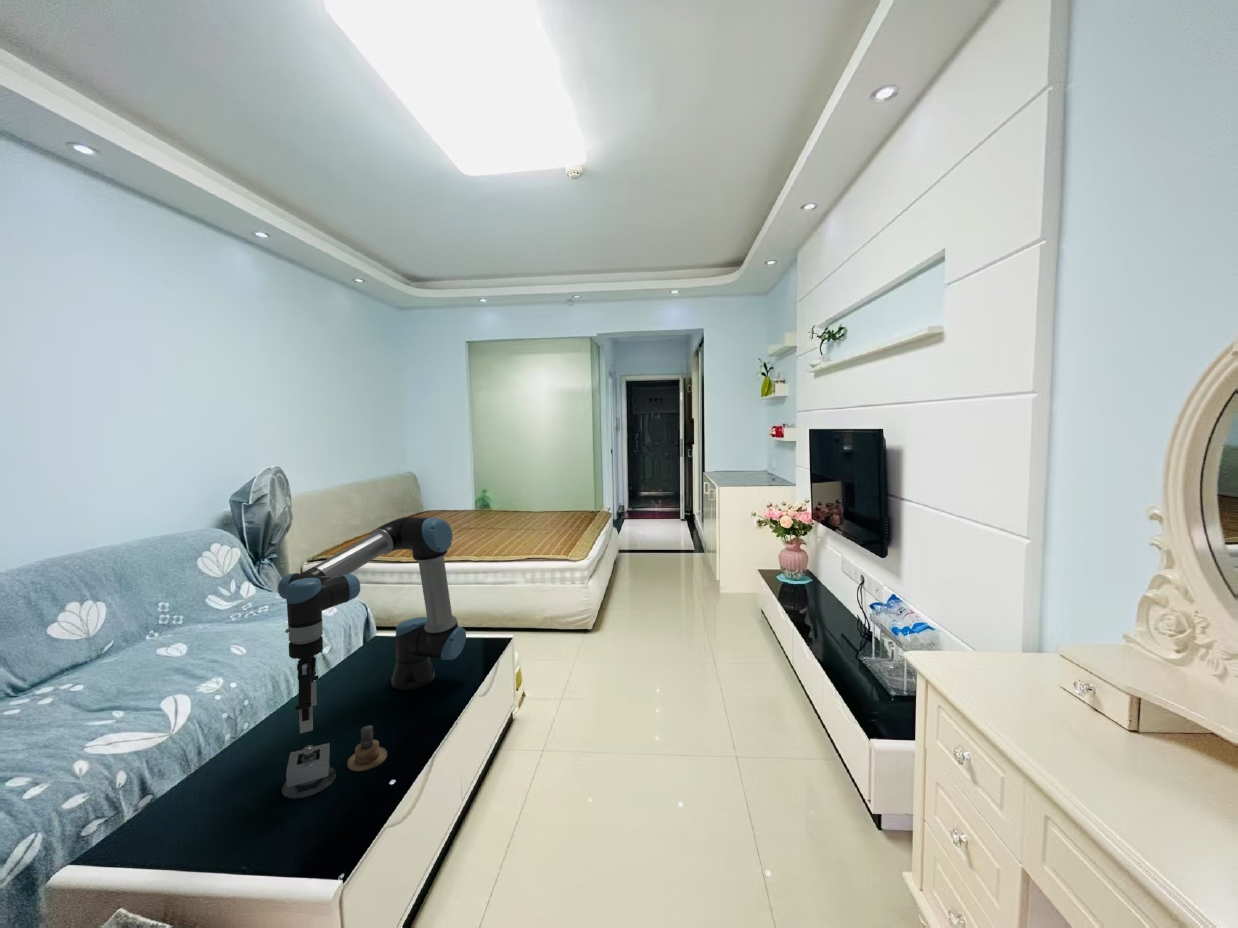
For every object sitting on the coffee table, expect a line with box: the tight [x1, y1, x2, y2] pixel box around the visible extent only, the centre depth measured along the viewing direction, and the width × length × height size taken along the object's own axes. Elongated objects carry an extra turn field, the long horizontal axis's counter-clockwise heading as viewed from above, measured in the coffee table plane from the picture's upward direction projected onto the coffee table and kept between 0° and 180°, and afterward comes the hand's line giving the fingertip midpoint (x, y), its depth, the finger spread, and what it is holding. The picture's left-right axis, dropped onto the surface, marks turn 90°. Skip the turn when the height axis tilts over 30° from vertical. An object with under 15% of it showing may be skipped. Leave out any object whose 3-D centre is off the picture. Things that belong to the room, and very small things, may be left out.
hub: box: [281, 744, 337, 800], centre depth 128 cm, size 12×12×10 cm
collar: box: [285, 742, 331, 788], centre depth 128 cm, size 9×9×4 cm
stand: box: [346, 725, 388, 772], centre depth 138 cm, size 10×10×9 cm
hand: (308, 718), depth 128 cm, fingers open, 13 cm apart
